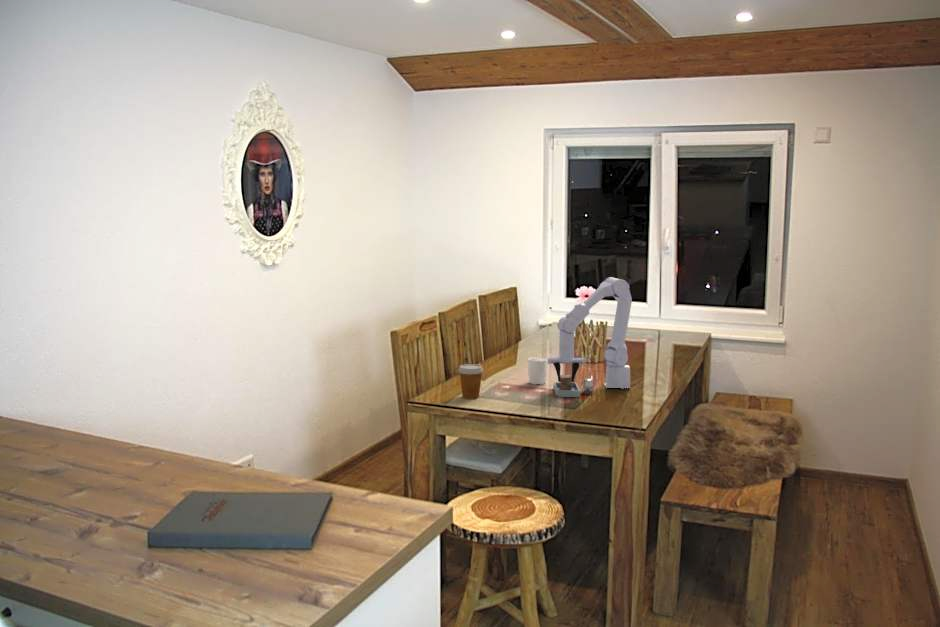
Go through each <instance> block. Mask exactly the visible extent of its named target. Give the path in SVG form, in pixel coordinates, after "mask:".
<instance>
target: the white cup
mask: <svg viewBox="0 0 940 627" xmlns="http://www.w3.org/2000/svg"><path fill="white" fill-rule="evenodd" d="M547 369H548V358H546V357H541V356H533V357H529V358H527V371H528V373H527V374H528V383H529V384H530V383H532V384H531V385H536V384H540V385H545V384H546V379H547V378H546V376H547ZM544 383H545V384H544Z"/></svg>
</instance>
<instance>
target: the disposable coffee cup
mask: <svg viewBox="0 0 940 627" xmlns="http://www.w3.org/2000/svg"><path fill="white" fill-rule="evenodd" d="M458 372H459V379H460V380H459V381H460V387H461V395H462V399H465V398H466V399H465V400H475V398H476V399H478V397H479V398H480V392H481V391H480V390H481V384H482V383H481V382H482V376H483V372H484V369H483V365H480V364H476V363H475V364H474V363H467V364H466V363H465V364H461V365H459V368H458Z"/></svg>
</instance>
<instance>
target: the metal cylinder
mask: <svg viewBox="0 0 940 627" xmlns="http://www.w3.org/2000/svg"><path fill="white" fill-rule="evenodd" d="M582 383H583V384H582V393H583V392H585V393H584V394H593V393H594V378H584V379H582ZM592 392H593V393H592Z"/></svg>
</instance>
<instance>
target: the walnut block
mask: <svg viewBox="0 0 940 627" xmlns="http://www.w3.org/2000/svg"><path fill="white" fill-rule="evenodd" d="M571 386H572V374H560V388H561V390H571Z"/></svg>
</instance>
